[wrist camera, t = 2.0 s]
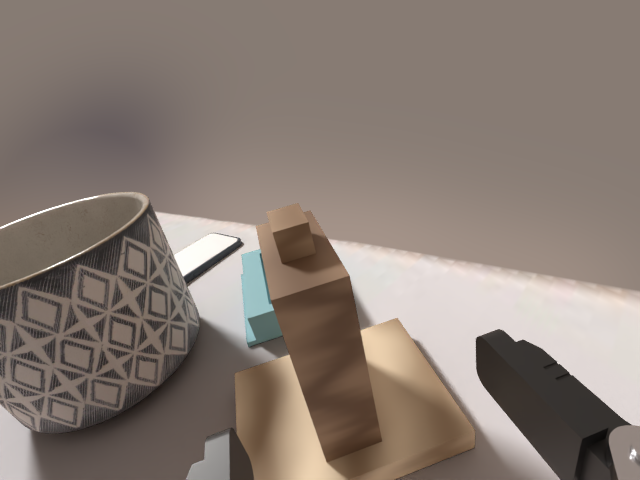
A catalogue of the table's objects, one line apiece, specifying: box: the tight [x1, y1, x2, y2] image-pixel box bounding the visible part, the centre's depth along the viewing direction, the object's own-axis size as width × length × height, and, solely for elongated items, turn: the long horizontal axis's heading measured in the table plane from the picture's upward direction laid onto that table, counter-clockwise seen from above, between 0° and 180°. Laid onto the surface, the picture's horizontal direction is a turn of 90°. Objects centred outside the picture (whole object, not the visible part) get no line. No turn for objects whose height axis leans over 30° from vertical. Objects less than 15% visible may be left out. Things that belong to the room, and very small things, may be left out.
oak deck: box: [235, 318, 475, 480], centre depth 28 cm, size 16×12×2 cm
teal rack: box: [241, 249, 283, 347], centre depth 43 cm, size 12×14×4 cm
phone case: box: [174, 233, 242, 284], centre depth 56 cm, size 9×2×16 cm
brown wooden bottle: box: [256, 203, 382, 462], centre depth 24 cm, size 4×9×16 cm, turn 14°
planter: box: [0, 192, 200, 433], centre depth 35 cm, size 19×19×16 cm
